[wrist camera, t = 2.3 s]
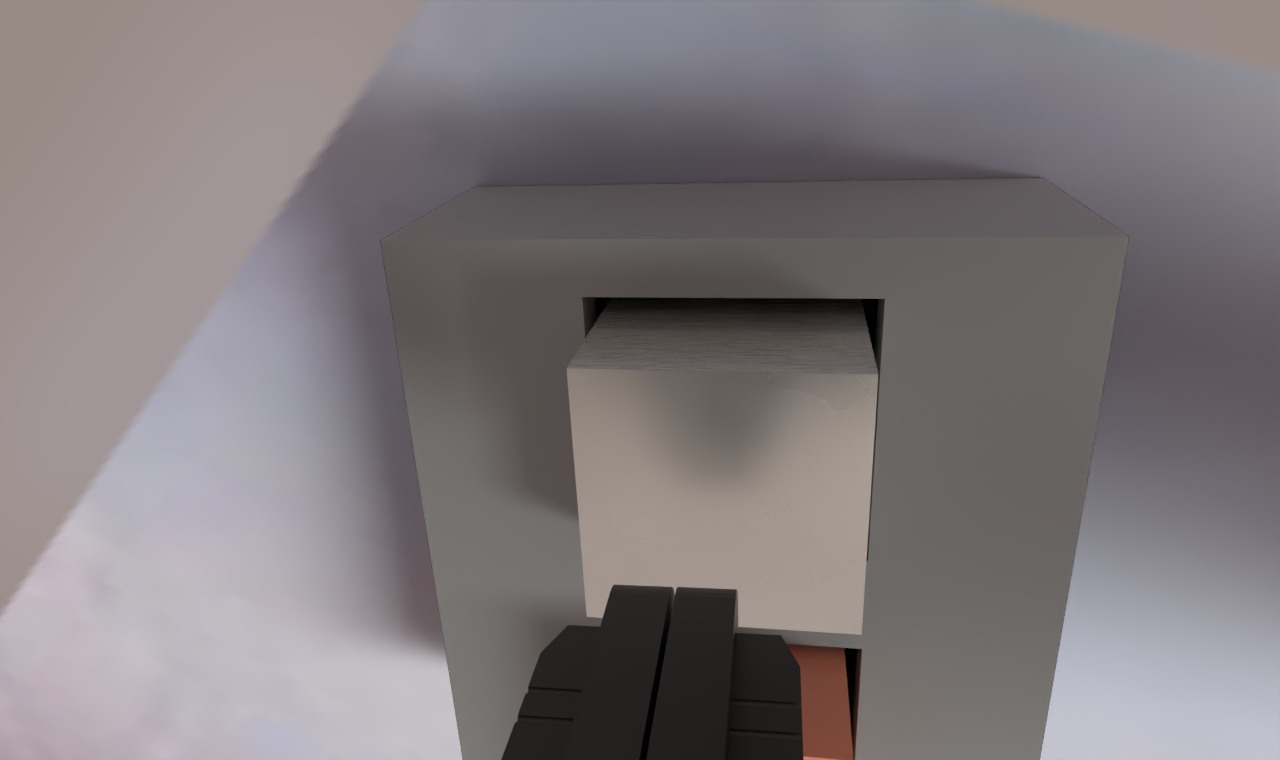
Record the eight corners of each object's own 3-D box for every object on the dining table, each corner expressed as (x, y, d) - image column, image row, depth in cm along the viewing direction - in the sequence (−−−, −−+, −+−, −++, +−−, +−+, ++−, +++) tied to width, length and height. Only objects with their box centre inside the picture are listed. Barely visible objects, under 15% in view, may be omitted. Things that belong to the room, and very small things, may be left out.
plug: (856, 281, 16) (878, 374, 12) (846, 491, 18) (861, 635, 14) (620, 280, 17) (567, 368, 13) (631, 482, 19) (587, 616, 15)
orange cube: (840, 597, 19) (853, 761, 15) (832, 753, 21) (842, 940, 16) (637, 585, 20) (596, 737, 16) (646, 737, 21) (611, 911, 17)
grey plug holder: (1043, 177, 18) (1129, 236, 13) (973, 716, 23) (1017, 889, 19) (475, 186, 20) (380, 240, 15) (531, 681, 25) (473, 830, 21)
